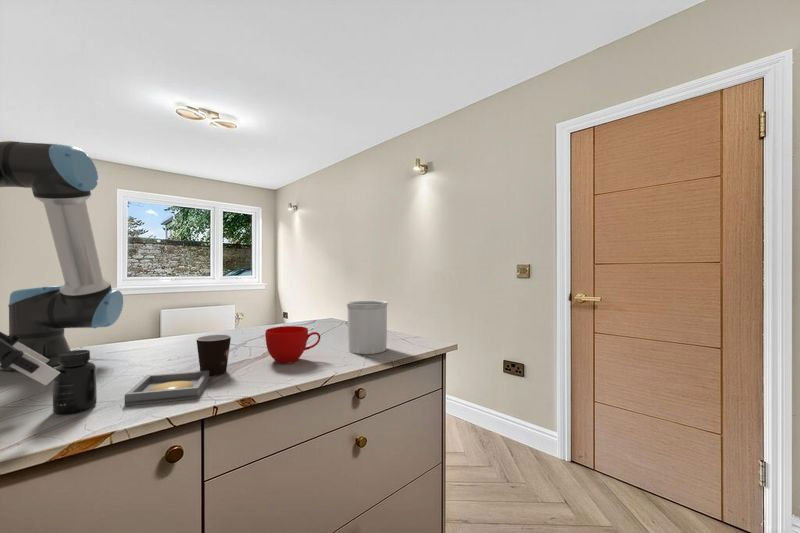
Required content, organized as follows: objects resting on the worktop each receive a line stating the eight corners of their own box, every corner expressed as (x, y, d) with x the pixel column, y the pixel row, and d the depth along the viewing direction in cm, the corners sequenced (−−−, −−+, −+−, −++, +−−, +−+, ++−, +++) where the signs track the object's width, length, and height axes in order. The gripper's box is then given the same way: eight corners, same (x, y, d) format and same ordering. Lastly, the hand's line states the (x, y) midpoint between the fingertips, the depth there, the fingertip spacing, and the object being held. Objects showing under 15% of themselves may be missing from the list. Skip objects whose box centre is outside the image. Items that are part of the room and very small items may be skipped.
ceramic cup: (320, 364, 109) (320, 332, 109) (262, 367, 105) (262, 334, 105) (319, 354, 122) (320, 325, 122) (268, 356, 118) (268, 326, 118)
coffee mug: (216, 379, 94) (216, 341, 94) (188, 376, 96) (188, 340, 96) (243, 366, 106) (244, 333, 106) (218, 365, 108) (218, 332, 108)
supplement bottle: (71, 403, 77) (71, 348, 77) (104, 402, 78) (105, 348, 78) (42, 416, 70) (42, 356, 70) (79, 415, 71) (79, 356, 71)
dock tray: (146, 384, 89) (147, 375, 89) (209, 379, 94) (209, 370, 94) (124, 405, 76) (124, 394, 76) (198, 398, 81) (198, 387, 81)
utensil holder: (340, 353, 123) (341, 303, 123) (353, 344, 137) (353, 299, 137) (382, 356, 120) (382, 304, 120) (390, 346, 135) (391, 300, 135)
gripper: (-98, 311, 64) (21, 375, 76) (-118, 328, 49) (36, 405, 60) (-51, 282, 69) (56, 346, 80) (-55, 288, 53) (78, 367, 64)
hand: (47, 371), depth 70 cm, fingers open, 13 cm apart
